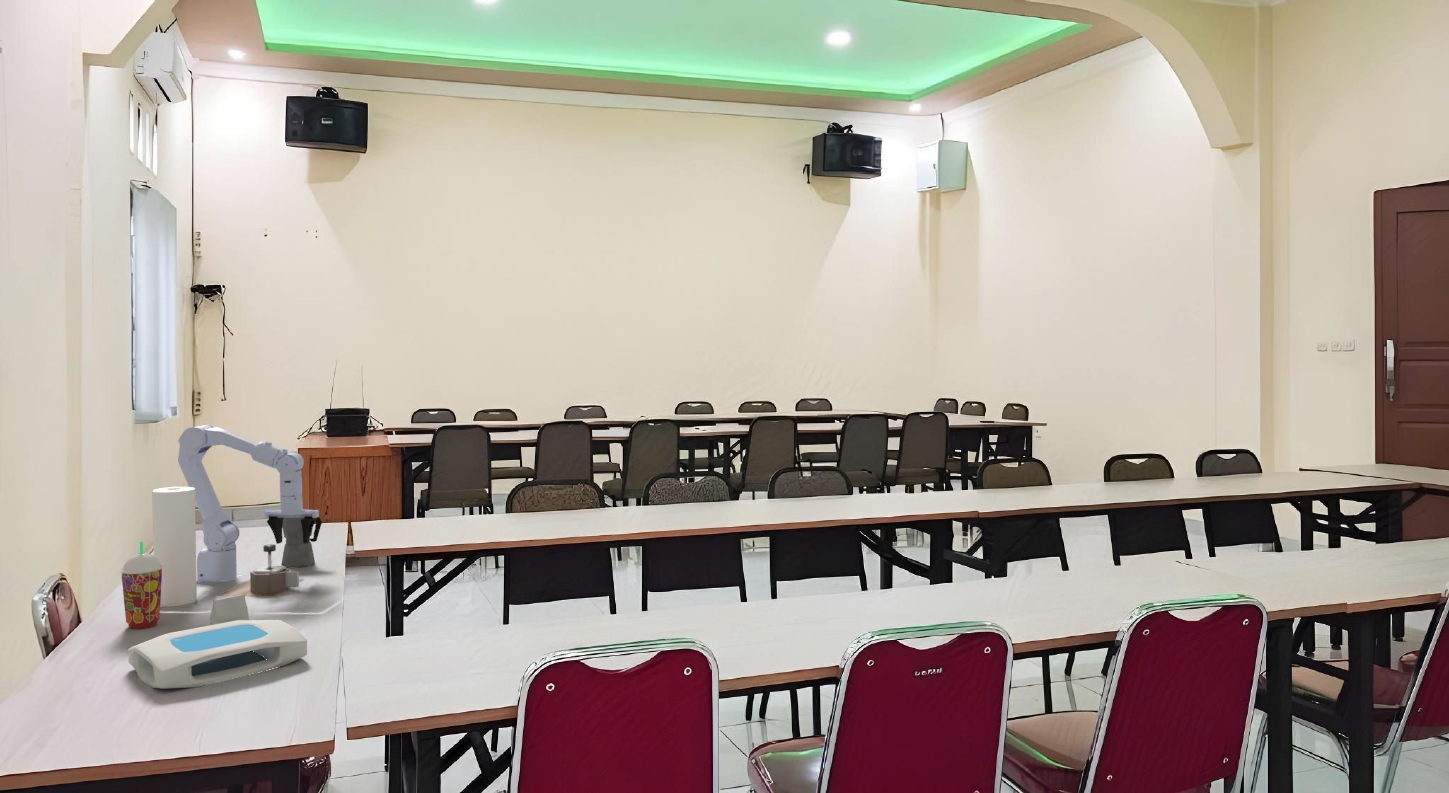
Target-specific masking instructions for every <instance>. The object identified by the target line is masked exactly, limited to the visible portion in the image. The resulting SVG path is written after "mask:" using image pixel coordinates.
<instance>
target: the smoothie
mask: <svg viewBox="0 0 1449 793" xmlns="http://www.w3.org/2000/svg"><path fill="white" fill-rule="evenodd" d="M162 567H163V566H162V565H161V564H160V562H159V560H158V559H157V558H156V557H155V556H154V554H151V553H148V552H144V542H143V541H139V553H136V554H134V555H132V556H130V557H129V558H128V559H127V560H126V561H125V563H124V564H123V568H121V569H120V572H121V583H122V584H121V586H122V593H123V594H122V595H123V604H124V614H125V615H124V616H125V623H126V624H127V625H128V627H129V628H130V629H134V630H135V629H136V630H140V629H147V628H148V627H149V628H153V627H155V626H156V625H157V624H158V620H160V619H161V618H160V617H161V606H160V601H161V582H162Z"/></svg>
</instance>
